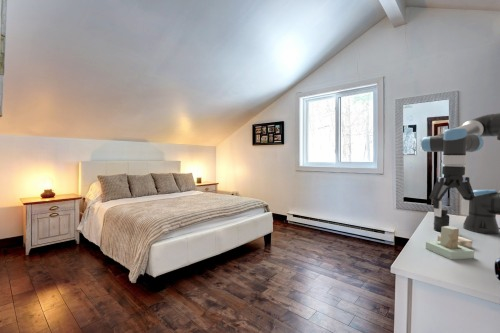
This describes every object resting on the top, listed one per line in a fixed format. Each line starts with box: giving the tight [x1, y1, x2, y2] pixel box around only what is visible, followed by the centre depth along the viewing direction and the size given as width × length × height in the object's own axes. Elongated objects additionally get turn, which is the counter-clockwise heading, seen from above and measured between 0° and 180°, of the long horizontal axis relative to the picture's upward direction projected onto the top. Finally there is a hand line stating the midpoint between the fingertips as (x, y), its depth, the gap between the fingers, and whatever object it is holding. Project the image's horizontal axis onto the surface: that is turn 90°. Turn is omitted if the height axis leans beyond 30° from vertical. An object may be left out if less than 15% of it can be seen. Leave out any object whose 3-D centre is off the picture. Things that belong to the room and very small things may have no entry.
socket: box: [425, 240, 475, 260], centre depth 108 cm, size 11×12×3 cm
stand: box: [437, 234, 473, 249], centre depth 119 cm, size 9×9×3 cm
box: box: [440, 225, 460, 249], centre depth 108 cm, size 5×4×11 cm
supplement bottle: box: [433, 208, 450, 233], centre depth 141 cm, size 7×7×12 cm
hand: (451, 215), depth 108 cm, fingers open, 13 cm apart
